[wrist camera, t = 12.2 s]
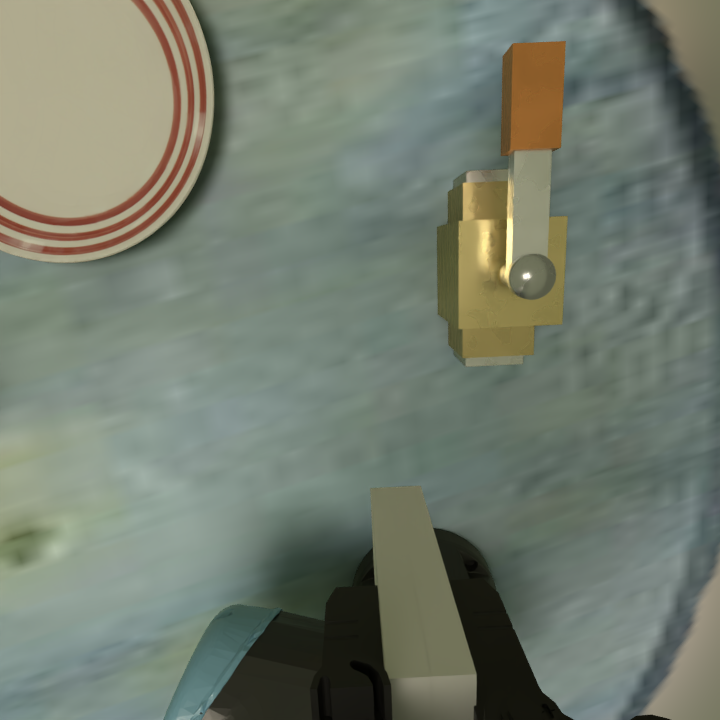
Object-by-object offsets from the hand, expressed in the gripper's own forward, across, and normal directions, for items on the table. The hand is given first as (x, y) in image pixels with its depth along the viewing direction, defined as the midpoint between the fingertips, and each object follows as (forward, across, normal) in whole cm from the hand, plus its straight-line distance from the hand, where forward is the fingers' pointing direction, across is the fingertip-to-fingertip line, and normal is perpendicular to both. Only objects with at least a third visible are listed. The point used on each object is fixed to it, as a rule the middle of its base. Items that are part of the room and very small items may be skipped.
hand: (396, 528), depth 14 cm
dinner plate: (+33, -25, +22) cm, 47 cm away
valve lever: (+23, +11, +12) cm, 28 cm away
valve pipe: (+32, +11, +6) cm, 35 cm away
